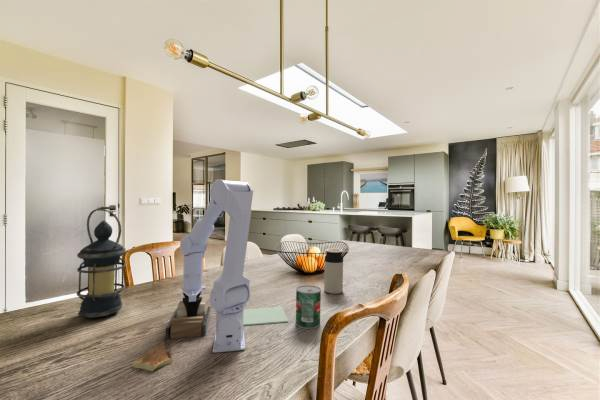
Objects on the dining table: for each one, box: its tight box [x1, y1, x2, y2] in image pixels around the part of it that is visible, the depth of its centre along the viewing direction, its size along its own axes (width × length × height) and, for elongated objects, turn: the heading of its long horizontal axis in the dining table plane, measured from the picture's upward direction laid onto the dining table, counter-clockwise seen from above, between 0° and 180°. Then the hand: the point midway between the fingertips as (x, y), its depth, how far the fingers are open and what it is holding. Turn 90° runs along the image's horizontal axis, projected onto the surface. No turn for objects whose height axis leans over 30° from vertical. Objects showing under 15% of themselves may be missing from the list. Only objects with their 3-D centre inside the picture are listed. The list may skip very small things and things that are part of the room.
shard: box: [132, 339, 173, 372], centre depth 67 cm, size 11×8×2 cm
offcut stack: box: [170, 316, 203, 339], centre depth 79 cm, size 4×8×4 cm, turn 103°
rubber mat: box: [243, 306, 289, 327], centre depth 92 cm, size 12×20×1 cm, turn 103°
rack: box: [164, 306, 212, 340], centre depth 84 cm, size 14×11×3 cm
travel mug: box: [323, 248, 344, 295], centre depth 120 cm, size 8×8×18 cm
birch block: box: [176, 299, 207, 323], centre depth 87 cm, size 4×8×6 cm, turn 103°
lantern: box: [76, 208, 127, 319], centre depth 91 cm, size 14×13×35 cm
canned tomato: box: [295, 284, 322, 330], centre depth 87 cm, size 8×8×11 cm
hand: (191, 316), depth 87 cm, fingers closed on birch block, 4 cm apart
